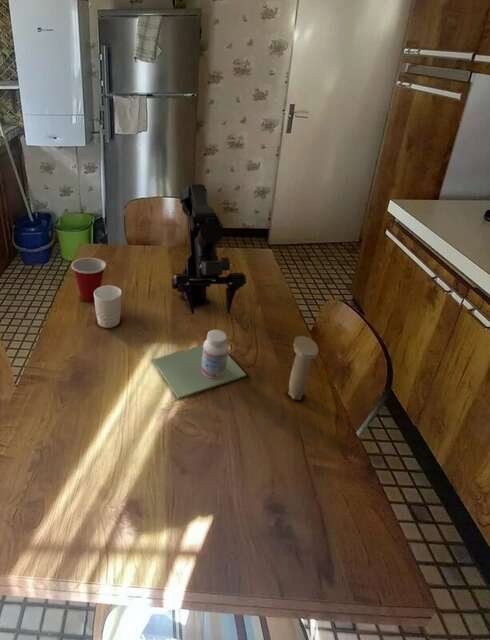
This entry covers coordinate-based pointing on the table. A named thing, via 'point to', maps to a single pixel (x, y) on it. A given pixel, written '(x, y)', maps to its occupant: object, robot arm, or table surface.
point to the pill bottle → (215, 354)
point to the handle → (301, 365)
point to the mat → (193, 372)
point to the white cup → (108, 305)
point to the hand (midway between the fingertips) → (210, 313)
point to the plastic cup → (88, 276)
